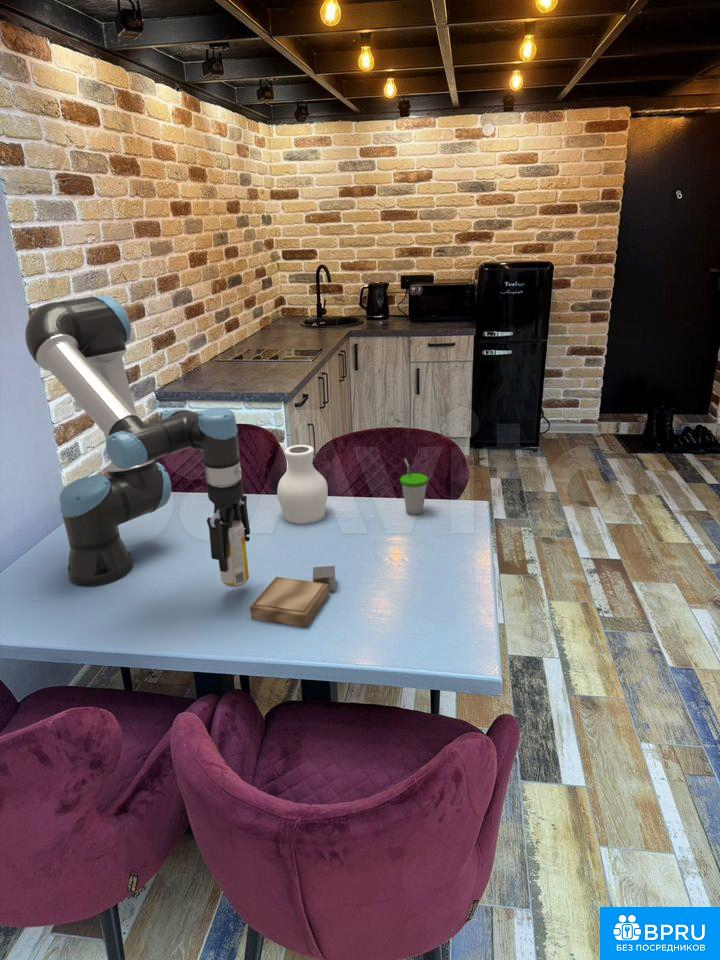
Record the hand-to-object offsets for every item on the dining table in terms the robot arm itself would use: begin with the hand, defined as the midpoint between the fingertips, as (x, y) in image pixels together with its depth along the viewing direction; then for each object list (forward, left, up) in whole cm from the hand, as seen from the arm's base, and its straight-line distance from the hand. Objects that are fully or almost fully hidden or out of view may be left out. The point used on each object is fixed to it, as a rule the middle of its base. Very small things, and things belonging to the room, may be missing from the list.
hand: (234, 574), depth 156 cm
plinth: (+15, -2, -5) cm, 16 cm away
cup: (+29, +52, -5) cm, 59 cm away
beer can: (0, 0, -2) cm, 2 cm away
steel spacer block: (+19, +8, -5) cm, 21 cm away
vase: (-1, +43, -5) cm, 43 cm away
